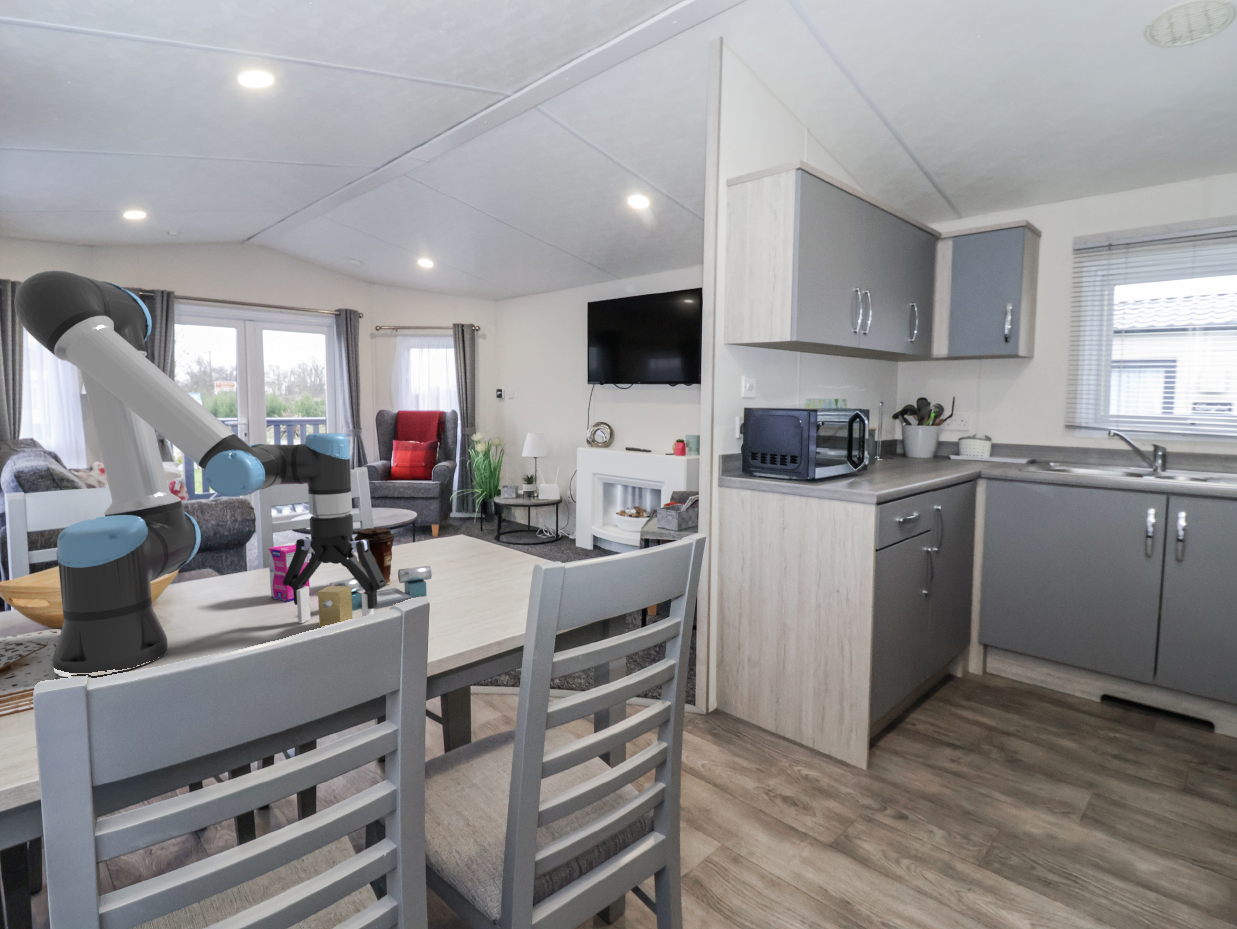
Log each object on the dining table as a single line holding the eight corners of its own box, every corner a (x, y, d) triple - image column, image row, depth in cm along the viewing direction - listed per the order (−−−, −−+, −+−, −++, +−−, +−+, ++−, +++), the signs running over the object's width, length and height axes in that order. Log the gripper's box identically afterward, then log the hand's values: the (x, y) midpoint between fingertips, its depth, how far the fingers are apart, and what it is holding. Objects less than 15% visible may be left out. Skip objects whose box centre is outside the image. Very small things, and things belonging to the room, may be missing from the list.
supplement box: (269, 598, 143) (266, 547, 142) (294, 591, 148) (291, 542, 147) (287, 602, 141) (284, 550, 139) (311, 595, 146) (308, 544, 145)
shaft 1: (339, 613, 133) (338, 584, 132) (327, 609, 136) (326, 580, 135) (369, 606, 138) (368, 578, 137) (357, 601, 141) (356, 574, 140)
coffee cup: (369, 591, 149) (366, 534, 147) (349, 585, 154) (346, 530, 152) (402, 582, 155) (400, 528, 154) (382, 577, 160) (380, 524, 159)
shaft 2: (402, 599, 142) (401, 572, 142) (397, 593, 147) (396, 567, 146) (433, 594, 146) (432, 568, 145) (427, 589, 150) (426, 563, 149)
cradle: (369, 609, 135) (369, 604, 135) (354, 599, 142) (354, 595, 142) (411, 601, 141) (411, 596, 141) (395, 592, 148) (395, 587, 148)
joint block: (338, 630, 124) (336, 593, 123) (317, 628, 124) (315, 592, 124) (355, 620, 129) (353, 585, 128) (334, 619, 130) (332, 584, 129)
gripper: (401, 512, 126) (405, 619, 128) (285, 509, 130) (291, 613, 133) (381, 519, 119) (385, 633, 121) (258, 516, 123) (265, 625, 125)
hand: (336, 623), depth 127 cm, fingers open, 13 cm apart
